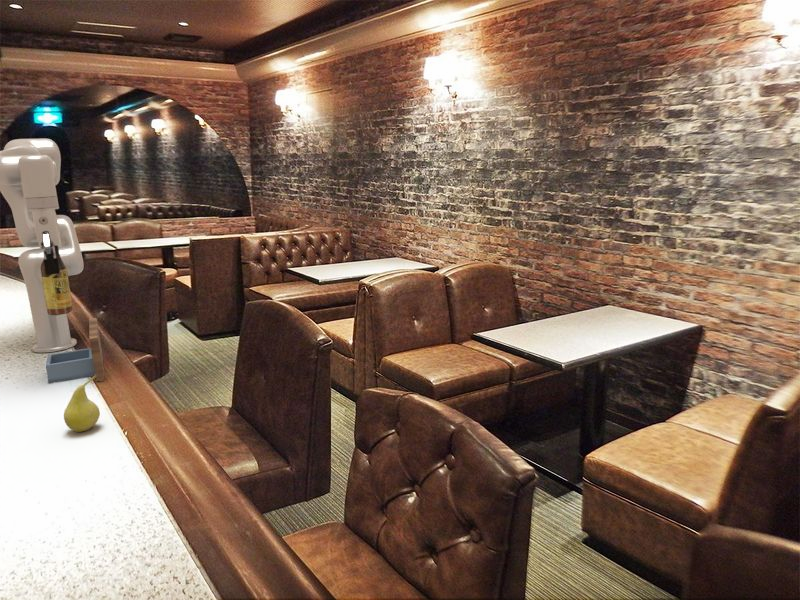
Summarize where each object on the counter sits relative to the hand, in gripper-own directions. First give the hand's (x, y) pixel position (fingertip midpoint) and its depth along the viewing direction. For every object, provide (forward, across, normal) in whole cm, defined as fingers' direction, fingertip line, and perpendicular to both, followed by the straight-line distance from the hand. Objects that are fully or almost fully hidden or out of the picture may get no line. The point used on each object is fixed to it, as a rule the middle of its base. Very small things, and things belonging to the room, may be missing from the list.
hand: (53, 271), depth 169 cm
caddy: (+29, 0, 0) cm, 29 cm away
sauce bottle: (+12, 0, 0) cm, 12 cm away
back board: (+29, 0, -7) cm, 30 cm away
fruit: (+29, -44, -4) cm, 53 cm away
